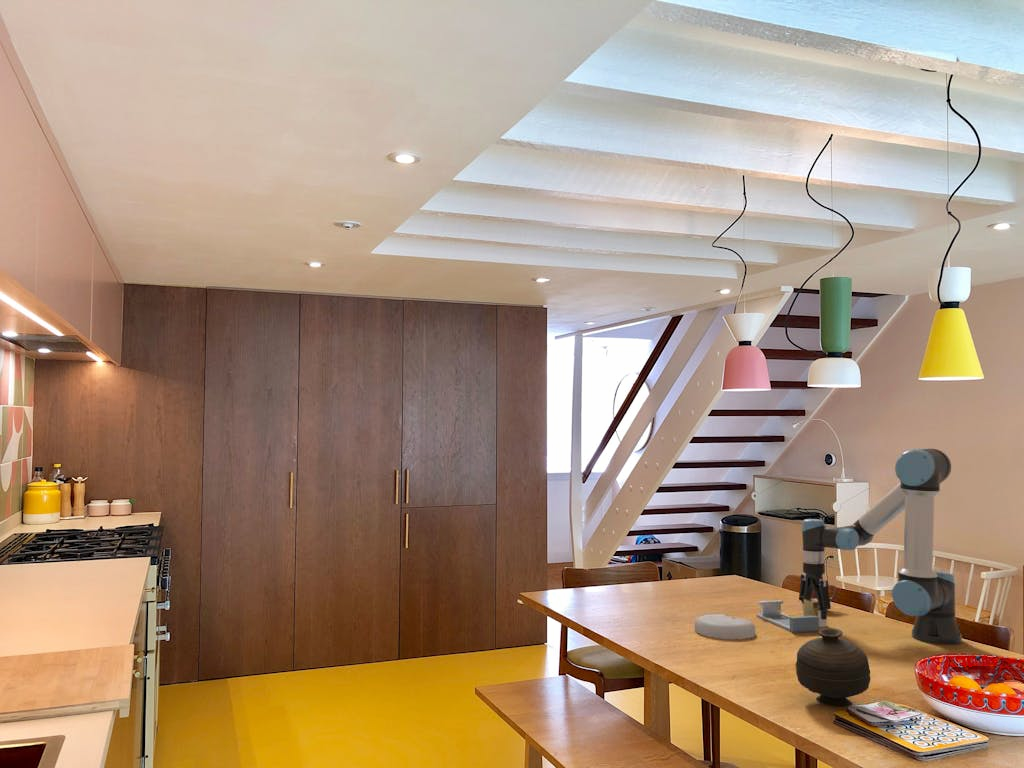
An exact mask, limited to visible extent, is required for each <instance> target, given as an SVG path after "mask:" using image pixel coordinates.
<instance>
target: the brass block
mask: <svg viewBox="0 0 1024 768" xmlns="http://www.w3.org/2000/svg"><path fill="white" fill-rule="evenodd" d="M819 608H820V607H819V604H818V600H817V599H816V598H815V599H804V616H818V609H819Z"/></svg>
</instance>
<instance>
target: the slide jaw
mask: <svg viewBox="0 0 1024 768" xmlns="http://www.w3.org/2000/svg"><path fill="white" fill-rule="evenodd" d="M757 604H758V605H760V614H761V615H763V616H781V613H782V604H784V601H783V600H781V599H777V600H776V599H775V600H758V601H757Z"/></svg>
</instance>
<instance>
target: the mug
mask: <svg viewBox="0 0 1024 768" xmlns="http://www.w3.org/2000/svg"><path fill="white" fill-rule="evenodd" d="M830 588H833V589H834V590H833V591H834V593H833V596H831V597H829V599H830V602H831V601H832V602H833V601H834V600H835V598H837V596H838V595H837V594H838V588H837V587H836V585H833V584H829V583H828V590H829V589H830ZM815 598H816V599H817V597H816V593H815V591H814V590H813V591H812V595H811V598H810V599H815Z"/></svg>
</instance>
